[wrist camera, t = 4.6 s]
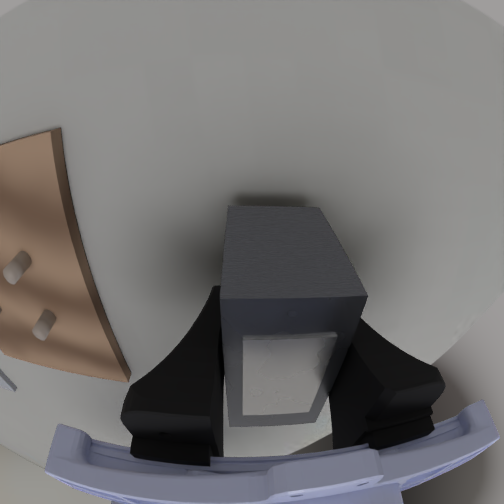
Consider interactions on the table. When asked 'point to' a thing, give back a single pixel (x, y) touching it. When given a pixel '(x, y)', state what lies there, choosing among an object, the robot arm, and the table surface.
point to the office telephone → (6, 382)
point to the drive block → (284, 313)
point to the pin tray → (48, 268)
